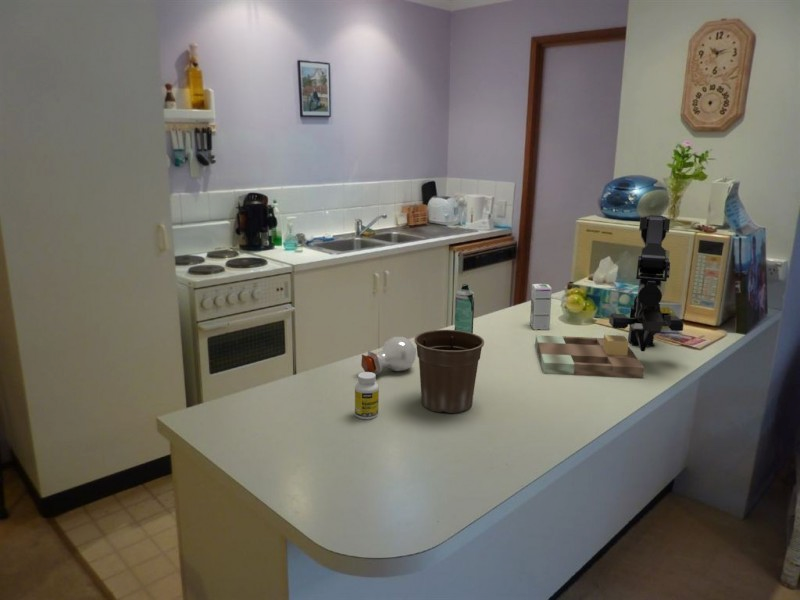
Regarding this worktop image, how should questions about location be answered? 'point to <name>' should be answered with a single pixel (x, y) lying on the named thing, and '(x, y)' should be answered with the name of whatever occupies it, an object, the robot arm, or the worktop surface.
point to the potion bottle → (391, 356)
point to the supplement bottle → (366, 396)
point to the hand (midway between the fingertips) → (642, 351)
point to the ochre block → (615, 345)
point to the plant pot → (448, 368)
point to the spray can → (464, 309)
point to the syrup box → (540, 306)
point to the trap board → (584, 357)
